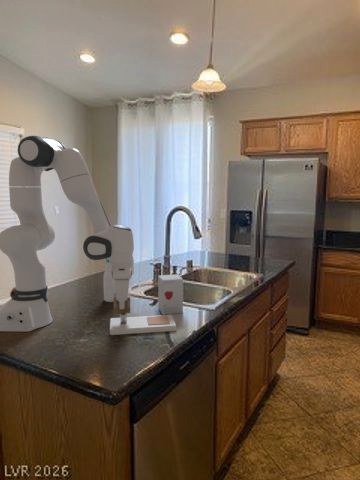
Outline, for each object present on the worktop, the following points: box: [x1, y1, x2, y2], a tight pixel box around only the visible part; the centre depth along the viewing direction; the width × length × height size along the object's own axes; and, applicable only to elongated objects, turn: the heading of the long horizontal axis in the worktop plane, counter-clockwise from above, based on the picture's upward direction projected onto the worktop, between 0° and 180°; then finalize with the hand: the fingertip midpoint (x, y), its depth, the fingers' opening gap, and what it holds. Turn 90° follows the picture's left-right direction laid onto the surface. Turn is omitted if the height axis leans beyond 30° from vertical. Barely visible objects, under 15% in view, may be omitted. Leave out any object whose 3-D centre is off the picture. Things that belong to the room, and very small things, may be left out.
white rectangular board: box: [109, 314, 177, 336], centre depth 140 cm, size 24×12×2 cm, turn 99°
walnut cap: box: [113, 292, 131, 315], centre depth 138 cm, size 6×6×6 cm
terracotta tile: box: [147, 315, 170, 325], centre depth 141 cm, size 8×8×1 cm
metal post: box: [119, 313, 128, 324], centre depth 138 cm, size 2×2×4 cm
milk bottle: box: [102, 258, 116, 303], centre depth 173 cm, size 8×8×20 cm
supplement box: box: [157, 274, 184, 315], centre depth 157 cm, size 9×9×15 cm
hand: (121, 305), depth 138 cm, fingers closed on walnut cap, 6 cm apart
